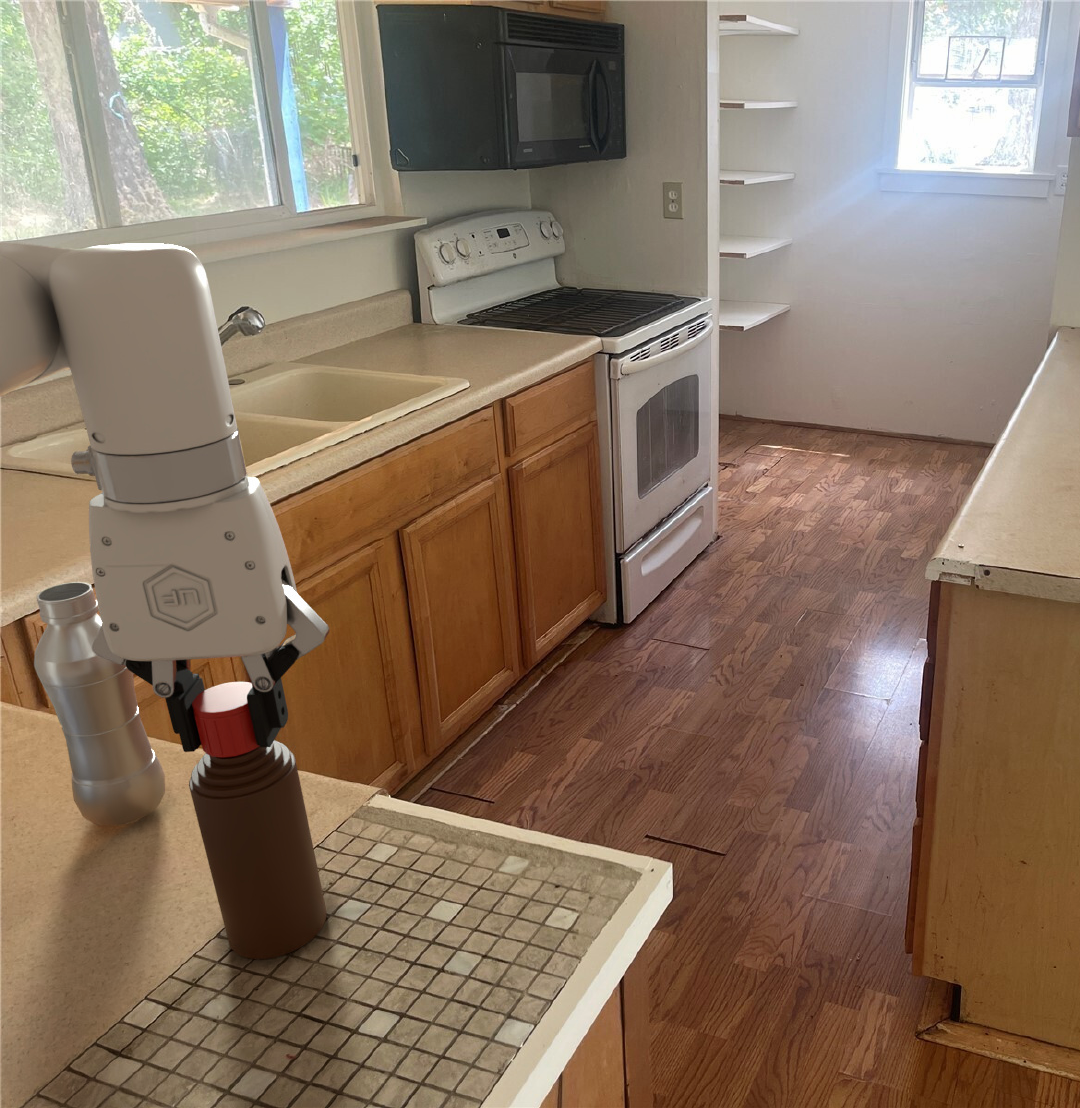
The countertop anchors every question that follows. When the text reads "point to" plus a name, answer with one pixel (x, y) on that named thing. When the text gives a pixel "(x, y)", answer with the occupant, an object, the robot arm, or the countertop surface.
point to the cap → (225, 720)
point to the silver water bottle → (95, 712)
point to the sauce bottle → (259, 850)
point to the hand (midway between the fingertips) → (234, 735)
